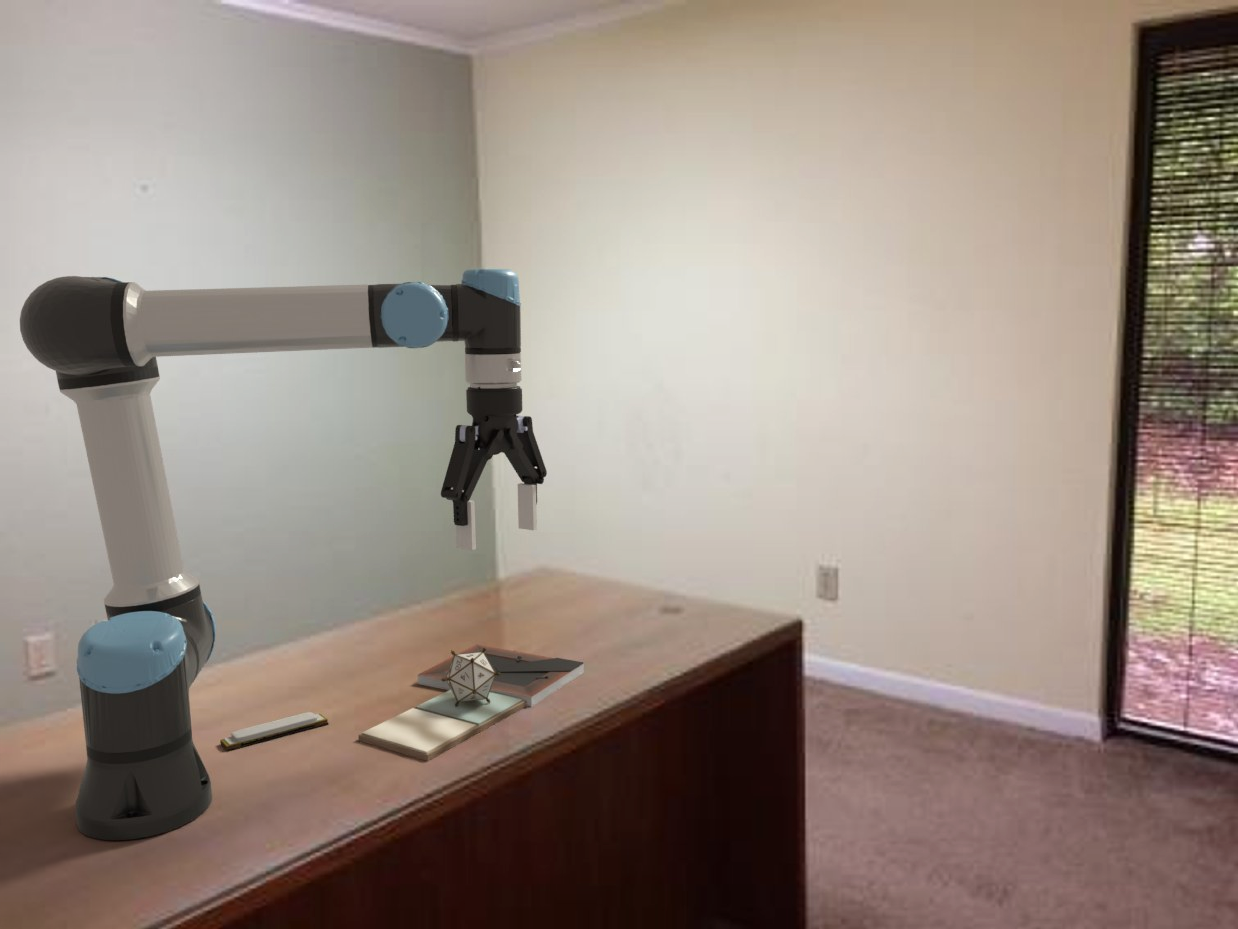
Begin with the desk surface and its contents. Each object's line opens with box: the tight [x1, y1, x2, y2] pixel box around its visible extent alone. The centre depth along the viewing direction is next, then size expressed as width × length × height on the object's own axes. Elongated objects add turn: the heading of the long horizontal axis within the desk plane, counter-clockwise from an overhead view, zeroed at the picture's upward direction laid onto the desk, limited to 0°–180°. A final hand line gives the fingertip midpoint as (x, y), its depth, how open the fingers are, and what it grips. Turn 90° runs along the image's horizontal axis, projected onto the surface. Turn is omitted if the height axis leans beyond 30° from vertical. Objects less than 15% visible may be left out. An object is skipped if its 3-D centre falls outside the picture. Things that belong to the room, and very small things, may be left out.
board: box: [358, 690, 527, 762], centre depth 152 cm, size 22×13×1 cm, turn 148°
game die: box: [441, 647, 501, 707], centre depth 156 cm, size 9×8×10 cm
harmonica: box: [220, 711, 329, 753], centre depth 148 cm, size 15×3×2 cm, turn 128°
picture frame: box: [417, 644, 585, 708], centre depth 170 cm, size 16×2×22 cm
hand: (498, 538), depth 143 cm, fingers open, 13 cm apart
